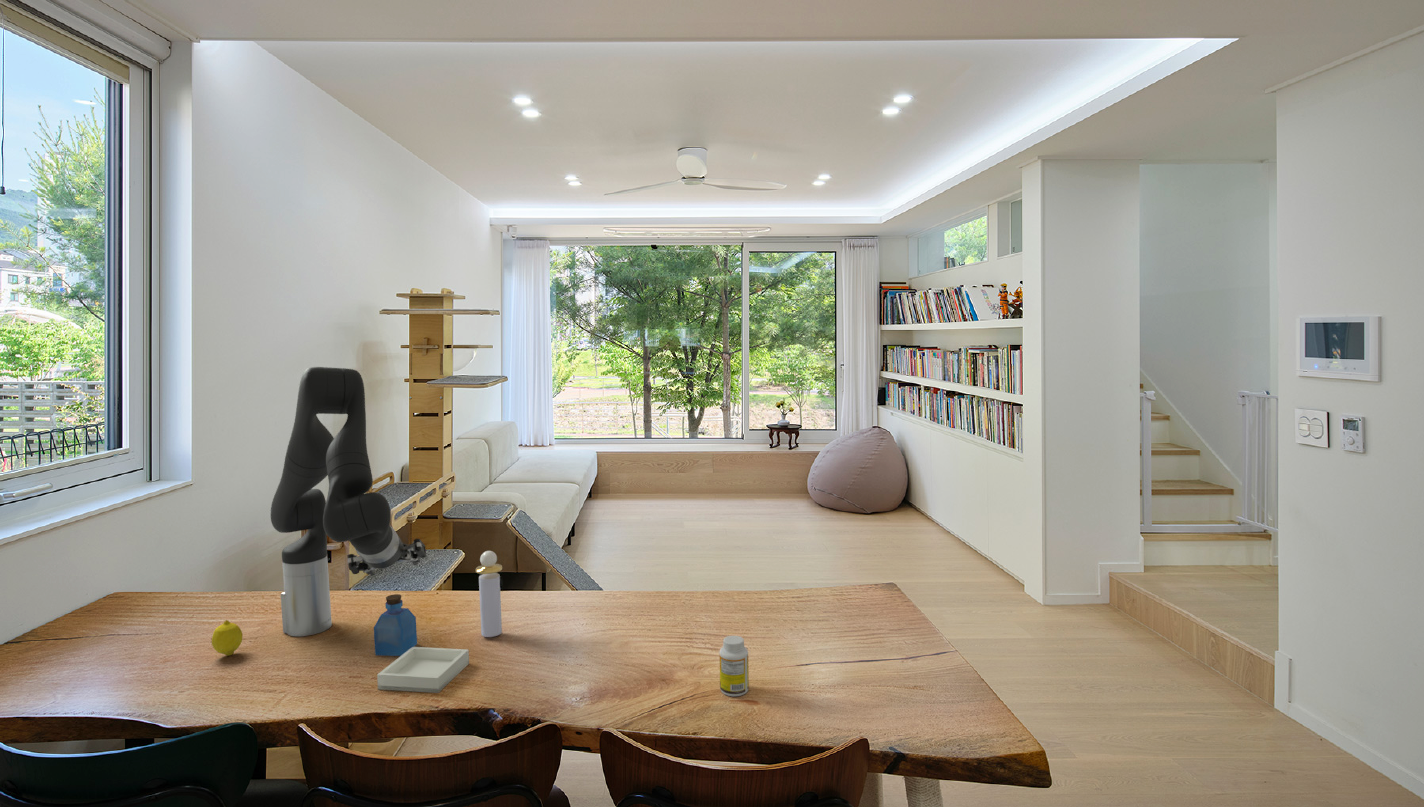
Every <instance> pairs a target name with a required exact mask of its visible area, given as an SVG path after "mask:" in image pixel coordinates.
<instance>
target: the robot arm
mask: <svg viewBox="0 0 1424 807" xmlns="http://www.w3.org/2000/svg"><path fill="white" fill-rule="evenodd" d="M365 394H366V393H365V384H364V381H363V377H362V374H361V373H360V372H359V371H358V370H356V369H353V368H345V367H327V366H325V367H324V366H313V367H308V368H306V369H305V371H304V372H303V374H302V375H301V378H300V381H299V387H298V392H297V402H296V407H295V408H296V410H295V416H294V422H293V427H292V431H291V433H290V434H291V435H290V439H289V441H288V445H287V449H286V454H285V456H284V457H285V458H284V463H283V468H282V474H281V478H280V479H279V483H278V486H277V488H276V491H275V493H274V496H273V498H272V502H271V507H270V522H271V524H272V527H273V528H274V529H275V531H276V532H279V533H283V534H285V533H286V534H290V533H296V532H300V531H306V532H305V533H304V535H302V536H301V538H298V539H297V540H296V541H294V542H292V543H290V544H289V545H287V546H285V547H284V548H283V549H282V552H281V563H282V575H283V576H282V577H283V590H284V591H282V592H281V593H280V607H281V620H282V621H281V622H282V633H283V634H287V635H288V636H290V637H309V636H313V635H317V634H320V633H322V632H325V631H328V629H330V628H331V627H332V626H333V624H332V623H333V621H332V608H331V606H332V605H331V595H330V592H331V591H330V579H329V577H330V576H329V563H328V561H329V560H328V538H330V540H332V541H334V542H337V543H345V542H349V543H350V544H351V546H352V547H353V548H354V549H355V551H356V555H355V553H350V554H347V555H346V556H347V565H348V569H349V570H350V571H351V573H352V574H353V575H358V574H360V572H362V573H365V574H366V575H370V576H375V575H376V570H377V569H381V570H382V569H386V568H389V567H391V566H392V565H394V564H395V563H407V562H410V561H411V563H412V564H413V566H418V565H419V564H418V563H420V562H421V559H424V558H426V557H427V550H426V545H425V543H424V542H423V541H422V540H421V539H420V538H415V539H413V541H412V543H411V544H406V543H405V542H402V540H401V538H400V536H399V535H398V533H397V532H396V530H395V529H394V528H393V527H392V526H391V517H392V515H391V514H392V513H391V507H390V504H389V501H388V499H387V498H386V497H385V496H384V495H382V494H381V493H379V492H374V491H371V492H368V491H370V490H371V488H372V486H373V474H372V468H371V464H370V458H369V454H368V448H367V447H368V445H367V420H366V419H367V418H366V417H367V416H366V397H365V396H366V395H365ZM320 414H321V415H322V414H324V415H325V414H326V415H347V418H346V420H345V423H344V425H343V426H342V428H340V430H339V432H338V433H337V434H336V435H335V436H333V434H332V433H331V432H330V431H329V429H328V428H327V427H326V426H325V425H324V424H323V423H322V421H321V420H320V418H318V415H320ZM326 478H327V480H328V492H327V497H326V496H325V494H324V493H323V491H322V490H321V489H319V488H315V487H316V486H317V485H319V484H320V483H321V482H322V481H323V480H324V479H326Z"/></svg>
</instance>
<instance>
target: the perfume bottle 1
mask: <svg viewBox="0 0 1424 807" xmlns="http://www.w3.org/2000/svg"><path fill="white" fill-rule="evenodd" d="M385 600H386V602H385V605H384V606H385V609H386V610H385V611H384V612H383V613H381V614H379V615H380V616H379V617H378V619H377V621H376V623H375V625H374V627H373V639H374V652H375V654H374V655H375V656H384V657H385V656H387V657H389V656H390V657H400V656H401V655H403V654H404V653H405V652H407V651H408V650H409V649H410V648H412V647H416V646H417V645H418V637H417V619H416V618H417V617H416V616H415V615H414V614H413V613H412V611H411V610H410V609H409V608H407V607H403V604H404V603H403V600H402V595H401V594H397V593H396V594H390V595H388V596H386V597H385Z"/></svg>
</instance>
